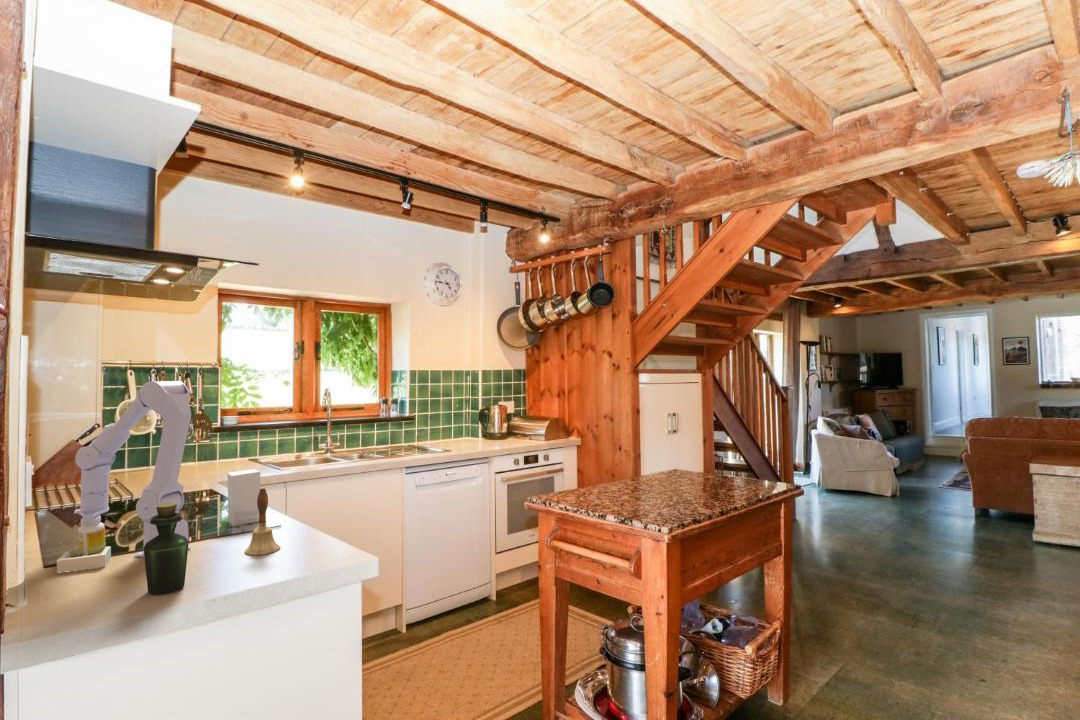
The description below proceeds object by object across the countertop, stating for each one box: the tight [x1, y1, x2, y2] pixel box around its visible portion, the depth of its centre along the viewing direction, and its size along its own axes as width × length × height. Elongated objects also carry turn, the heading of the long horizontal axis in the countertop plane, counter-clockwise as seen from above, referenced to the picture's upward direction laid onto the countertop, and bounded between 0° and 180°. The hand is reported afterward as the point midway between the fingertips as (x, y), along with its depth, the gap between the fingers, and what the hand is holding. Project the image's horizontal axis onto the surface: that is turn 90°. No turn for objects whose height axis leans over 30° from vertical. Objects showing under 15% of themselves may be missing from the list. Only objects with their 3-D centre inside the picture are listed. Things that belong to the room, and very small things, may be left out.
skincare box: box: [227, 468, 261, 527], centre depth 176 cm, size 8×7×16 cm
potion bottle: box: [143, 503, 190, 596], centre depth 121 cm, size 8×8×18 cm
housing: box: [56, 545, 112, 573], centre depth 137 cm, size 8×9×3 cm
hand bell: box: [244, 487, 281, 556], centre depth 148 cm, size 8×8×16 cm
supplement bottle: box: [77, 514, 107, 556], centre depth 145 cm, size 5×5×10 cm
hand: (93, 544), depth 148 cm, fingers closed, pressing on supplement bottle
